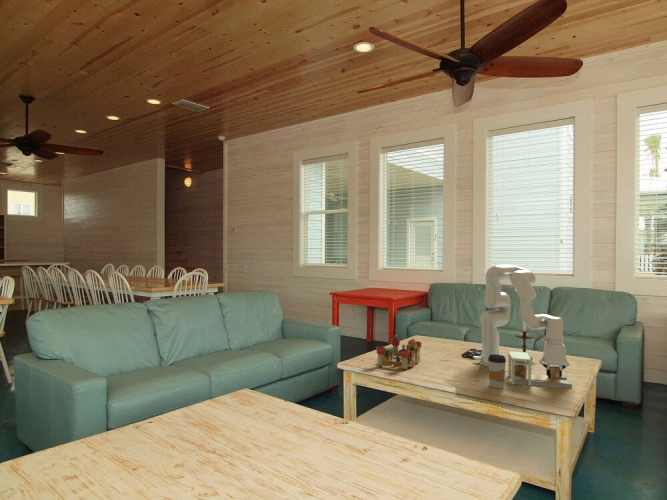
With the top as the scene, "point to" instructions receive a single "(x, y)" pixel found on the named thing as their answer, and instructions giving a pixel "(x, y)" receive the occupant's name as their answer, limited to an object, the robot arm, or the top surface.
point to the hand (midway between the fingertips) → (554, 377)
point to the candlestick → (524, 337)
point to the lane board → (545, 383)
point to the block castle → (399, 354)
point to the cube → (519, 370)
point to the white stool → (519, 357)
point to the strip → (545, 376)
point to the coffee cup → (496, 370)
